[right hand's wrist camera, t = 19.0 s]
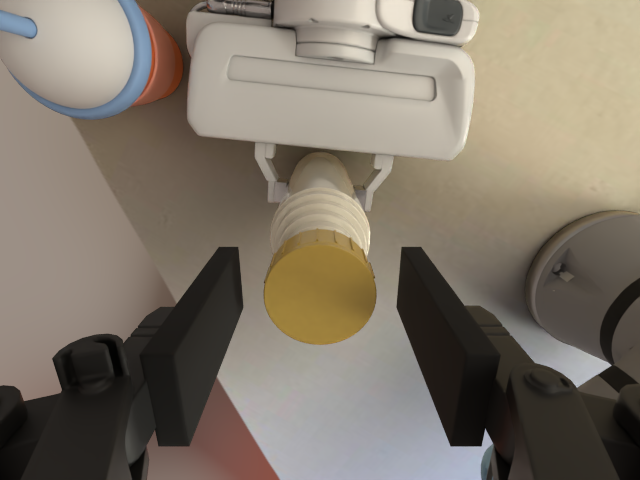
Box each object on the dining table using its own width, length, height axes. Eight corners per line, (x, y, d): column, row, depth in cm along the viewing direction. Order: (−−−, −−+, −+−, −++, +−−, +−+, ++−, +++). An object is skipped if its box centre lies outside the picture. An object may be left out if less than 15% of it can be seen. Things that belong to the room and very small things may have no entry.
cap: (362, 324, 15) (368, 351, 14) (265, 315, 15) (258, 340, 13) (379, 233, 14) (387, 250, 12) (272, 221, 14) (265, 237, 12)
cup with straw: (74, 55, 31) (-224, -12, 14) (142, -26, 29) (-110, -218, 12) (154, 138, 33) (-17, 166, 16) (222, 68, 31) (107, 19, 14)
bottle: (319, 139, 33) (317, 190, 12) (358, 178, 35) (420, 287, 13) (281, 180, 35) (219, 291, 13) (320, 216, 36) (322, 371, 15)
